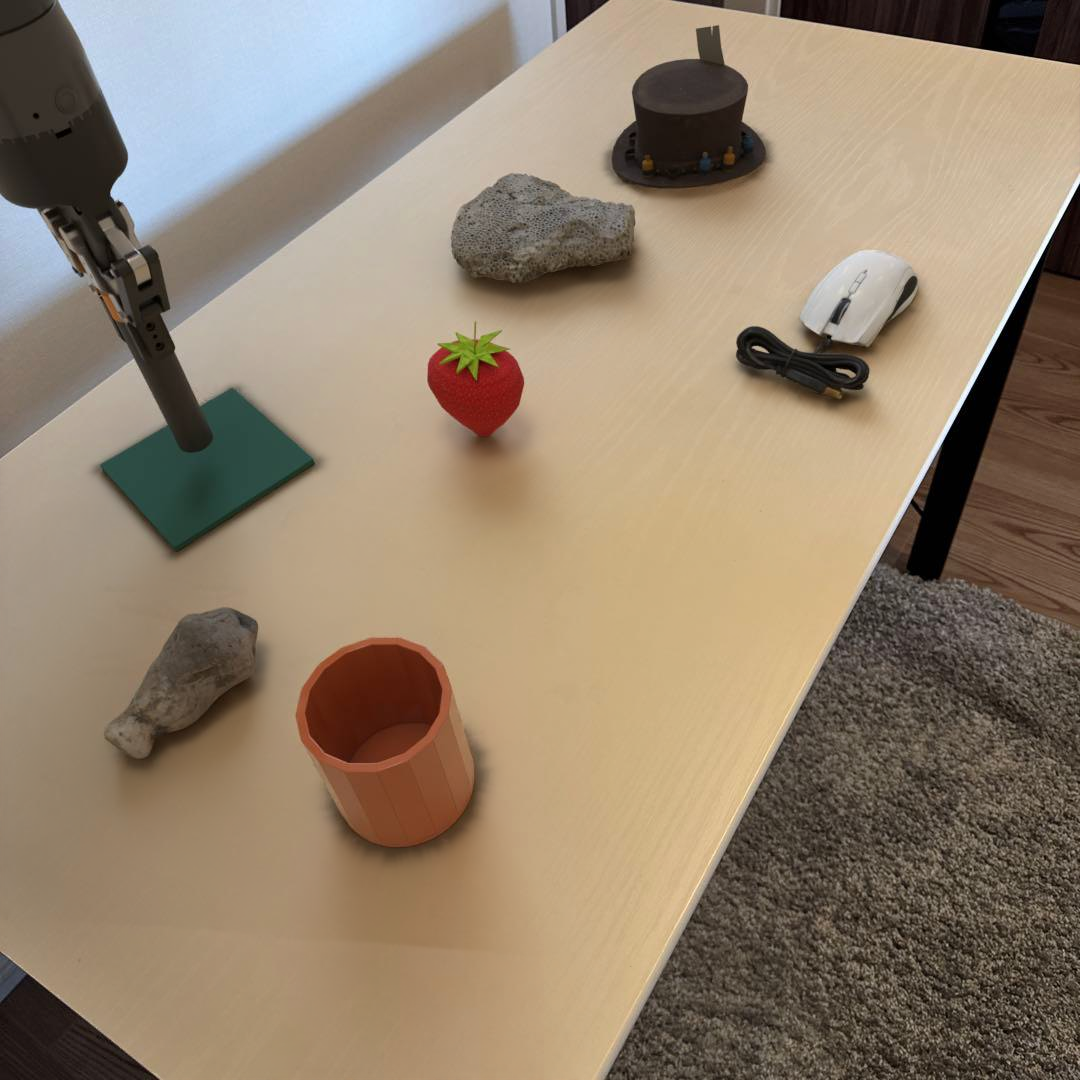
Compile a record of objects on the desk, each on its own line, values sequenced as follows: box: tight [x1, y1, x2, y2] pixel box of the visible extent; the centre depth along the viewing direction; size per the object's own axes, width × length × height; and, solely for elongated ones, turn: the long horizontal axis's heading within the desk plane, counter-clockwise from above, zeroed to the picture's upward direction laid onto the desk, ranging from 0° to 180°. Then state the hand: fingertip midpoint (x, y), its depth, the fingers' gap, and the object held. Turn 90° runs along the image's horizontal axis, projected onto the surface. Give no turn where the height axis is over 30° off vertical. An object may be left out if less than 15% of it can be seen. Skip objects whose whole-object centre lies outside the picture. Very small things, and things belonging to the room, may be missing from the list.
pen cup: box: [295, 636, 475, 848], centre depth 56 cm, size 8×8×9 cm
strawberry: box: [426, 320, 525, 437], centre depth 74 cm, size 6×8×10 cm
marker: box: [99, 290, 213, 453], centre depth 71 cm, size 3×3×14 cm
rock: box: [450, 172, 636, 284], centre depth 90 cm, size 15×16×5 cm
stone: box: [103, 606, 259, 759], centre depth 62 cm, size 10×5×8 cm
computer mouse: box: [735, 249, 919, 400], centre depth 80 cm, size 10×18×4 cm, turn 144°
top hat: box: [611, 24, 767, 190], centre depth 96 cm, size 15×15×10 cm
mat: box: [99, 387, 316, 552], centre depth 78 cm, size 12×12×1 cm
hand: (148, 345), depth 69 cm, fingers closed on marker, 2 cm apart
